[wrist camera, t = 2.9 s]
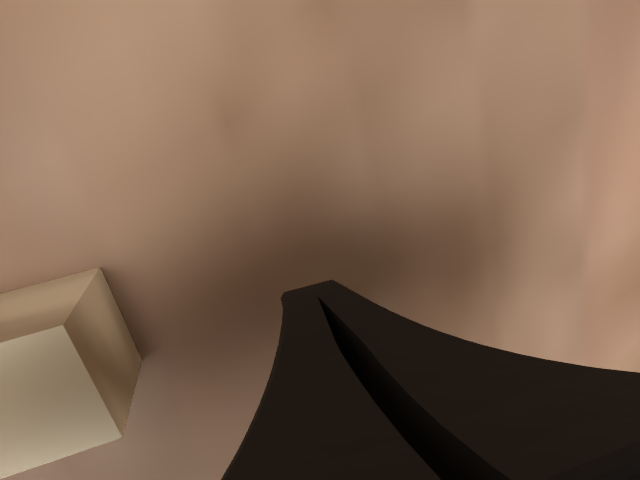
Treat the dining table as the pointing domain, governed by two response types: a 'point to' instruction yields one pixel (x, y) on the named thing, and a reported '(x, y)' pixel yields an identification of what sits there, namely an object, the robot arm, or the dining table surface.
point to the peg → (62, 370)
